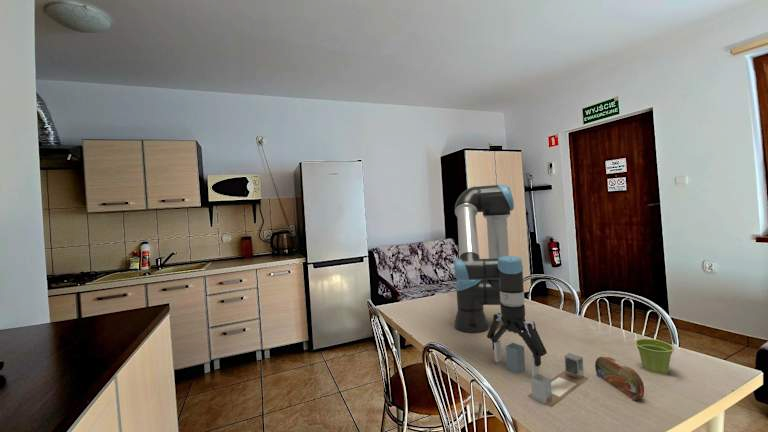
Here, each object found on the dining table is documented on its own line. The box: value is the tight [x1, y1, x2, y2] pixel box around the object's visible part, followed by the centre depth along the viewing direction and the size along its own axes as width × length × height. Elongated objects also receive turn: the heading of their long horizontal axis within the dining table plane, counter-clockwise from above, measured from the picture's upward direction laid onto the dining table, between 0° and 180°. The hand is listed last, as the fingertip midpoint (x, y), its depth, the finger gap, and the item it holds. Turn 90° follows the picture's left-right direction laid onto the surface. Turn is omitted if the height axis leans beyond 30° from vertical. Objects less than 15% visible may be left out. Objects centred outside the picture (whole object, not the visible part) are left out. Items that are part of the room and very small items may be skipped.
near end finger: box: [530, 373, 552, 406], centre depth 90 cm, size 4×4×6 cm
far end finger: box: [564, 352, 585, 380], centre depth 100 cm, size 4×4×6 cm
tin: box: [594, 356, 645, 401], centre depth 93 cm, size 15×3×8 cm, turn 5°
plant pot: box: [634, 338, 675, 376], centre depth 102 cm, size 9×9×9 cm
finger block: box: [505, 342, 526, 374], centre depth 107 cm, size 4×5×9 cm
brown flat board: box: [527, 370, 590, 408], centre depth 95 cm, size 7×22×1 cm, turn 125°
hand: (516, 367), depth 107 cm, fingers open, 13 cm apart
